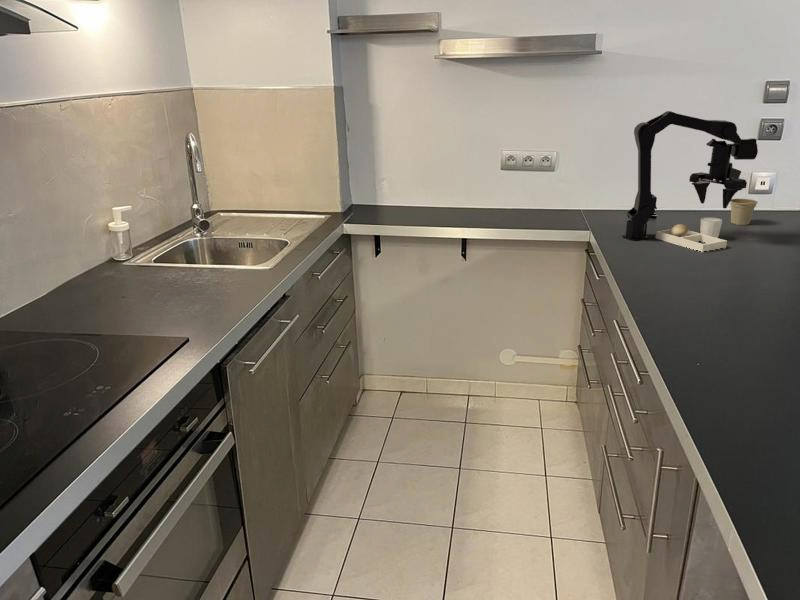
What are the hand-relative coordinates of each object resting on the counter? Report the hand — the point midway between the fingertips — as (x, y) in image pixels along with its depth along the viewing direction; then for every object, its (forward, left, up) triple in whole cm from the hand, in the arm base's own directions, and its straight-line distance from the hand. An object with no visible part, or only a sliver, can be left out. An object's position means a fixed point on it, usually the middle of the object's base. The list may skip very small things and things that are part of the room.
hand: (713, 205), depth 211 cm
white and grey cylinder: (0, 0, -12) cm, 12 cm away
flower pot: (+27, +10, -12) cm, 31 cm away
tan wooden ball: (-10, +4, -12) cm, 16 cm away
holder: (-10, -1, -12) cm, 15 cm away
